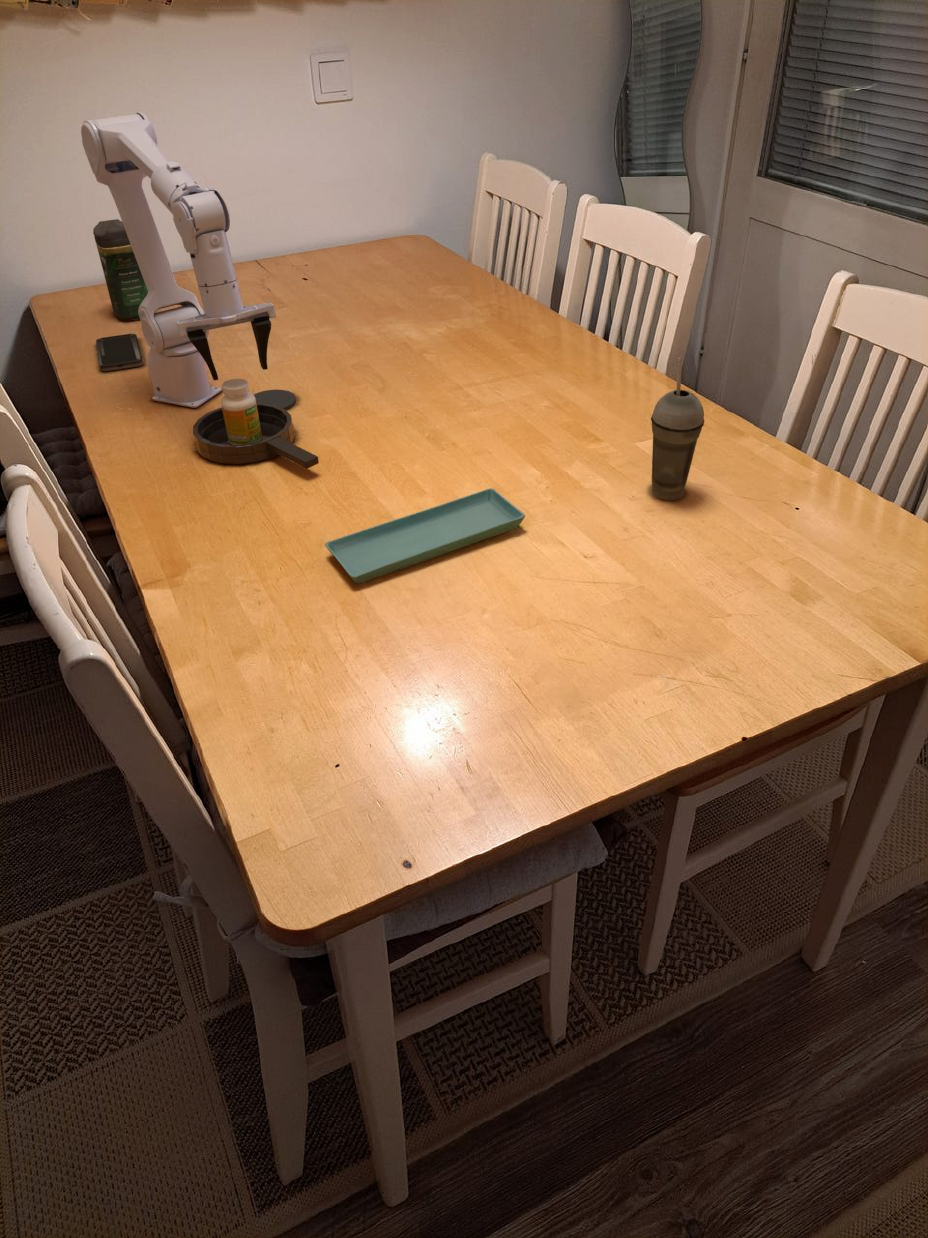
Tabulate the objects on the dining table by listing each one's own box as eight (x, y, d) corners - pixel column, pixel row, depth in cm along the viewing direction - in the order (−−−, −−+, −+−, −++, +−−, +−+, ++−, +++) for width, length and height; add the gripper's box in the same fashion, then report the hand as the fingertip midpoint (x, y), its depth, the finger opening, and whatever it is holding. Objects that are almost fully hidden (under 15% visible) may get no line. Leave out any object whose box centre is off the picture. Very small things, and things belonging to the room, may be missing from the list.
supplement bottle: (255, 449, 144) (244, 392, 138) (223, 446, 145) (211, 389, 139) (267, 433, 148) (257, 377, 142) (236, 431, 149) (225, 375, 143)
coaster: (238, 408, 157) (237, 405, 156) (264, 389, 163) (264, 386, 162) (279, 416, 154) (279, 413, 154) (305, 396, 160) (304, 393, 160)
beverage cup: (662, 510, 128) (681, 376, 116) (632, 487, 133) (646, 356, 121) (703, 497, 131) (725, 364, 118) (671, 475, 136) (690, 346, 123)
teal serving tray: (353, 590, 115) (351, 575, 113) (325, 555, 121) (322, 540, 119) (526, 531, 125) (527, 515, 123) (492, 501, 131) (492, 486, 129)
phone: (135, 332, 182) (142, 359, 171) (137, 338, 183) (143, 365, 172) (95, 338, 180) (99, 366, 169) (96, 344, 181) (100, 372, 170)
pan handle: (266, 448, 141) (264, 441, 140) (278, 442, 142) (277, 435, 142) (306, 469, 136) (305, 462, 135) (319, 463, 137) (318, 456, 136)
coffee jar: (158, 317, 192) (136, 225, 181) (120, 324, 189) (96, 231, 178) (147, 303, 199) (126, 213, 187) (110, 310, 196) (86, 219, 185)
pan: (176, 454, 144) (172, 436, 142) (233, 414, 155) (230, 396, 153) (260, 472, 139) (256, 453, 137) (312, 429, 150) (309, 411, 148)
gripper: (170, 296, 128) (196, 389, 135) (270, 276, 132) (290, 369, 139) (165, 288, 134) (191, 378, 141) (262, 270, 138) (282, 358, 145)
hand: (240, 373), depth 140 cm, fingers open, 7 cm apart
